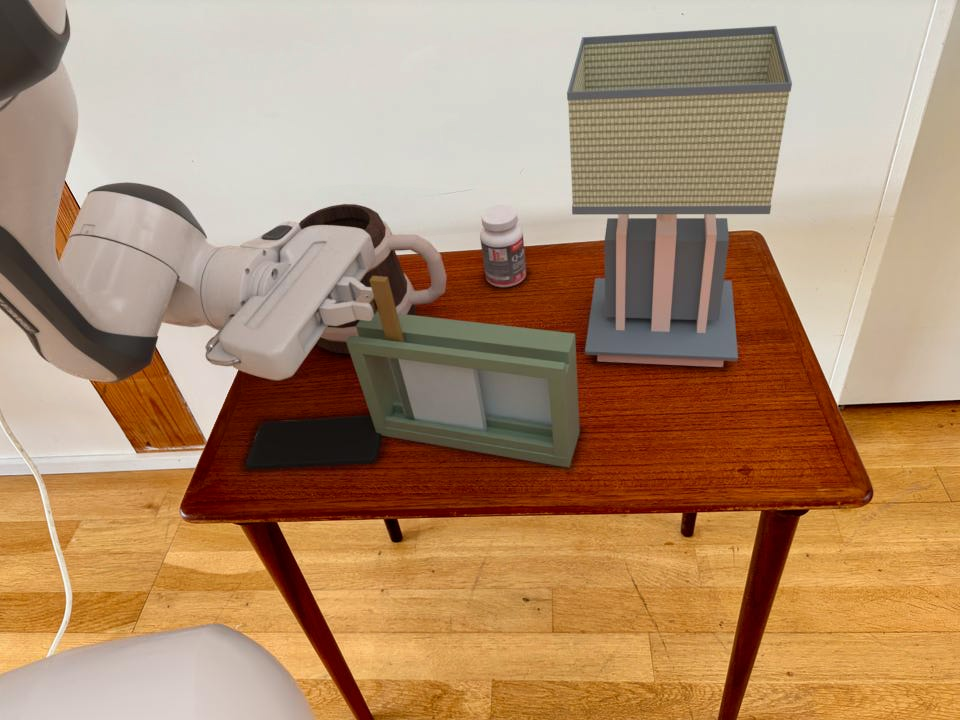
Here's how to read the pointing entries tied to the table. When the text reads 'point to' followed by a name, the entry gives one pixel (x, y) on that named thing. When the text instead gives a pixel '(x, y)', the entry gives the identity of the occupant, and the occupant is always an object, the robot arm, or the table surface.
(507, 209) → the pill bottle
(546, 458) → the window frame
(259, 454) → the smartphone
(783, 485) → the table surface
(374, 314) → the robot arm
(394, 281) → the mug
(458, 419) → the window pane
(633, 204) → the desk lamp
